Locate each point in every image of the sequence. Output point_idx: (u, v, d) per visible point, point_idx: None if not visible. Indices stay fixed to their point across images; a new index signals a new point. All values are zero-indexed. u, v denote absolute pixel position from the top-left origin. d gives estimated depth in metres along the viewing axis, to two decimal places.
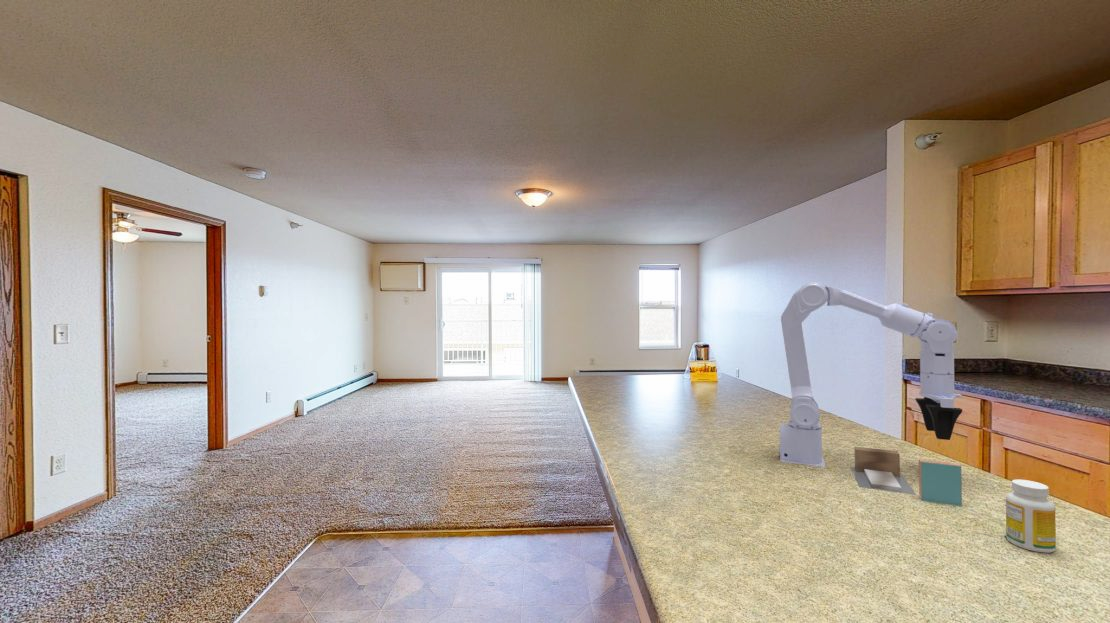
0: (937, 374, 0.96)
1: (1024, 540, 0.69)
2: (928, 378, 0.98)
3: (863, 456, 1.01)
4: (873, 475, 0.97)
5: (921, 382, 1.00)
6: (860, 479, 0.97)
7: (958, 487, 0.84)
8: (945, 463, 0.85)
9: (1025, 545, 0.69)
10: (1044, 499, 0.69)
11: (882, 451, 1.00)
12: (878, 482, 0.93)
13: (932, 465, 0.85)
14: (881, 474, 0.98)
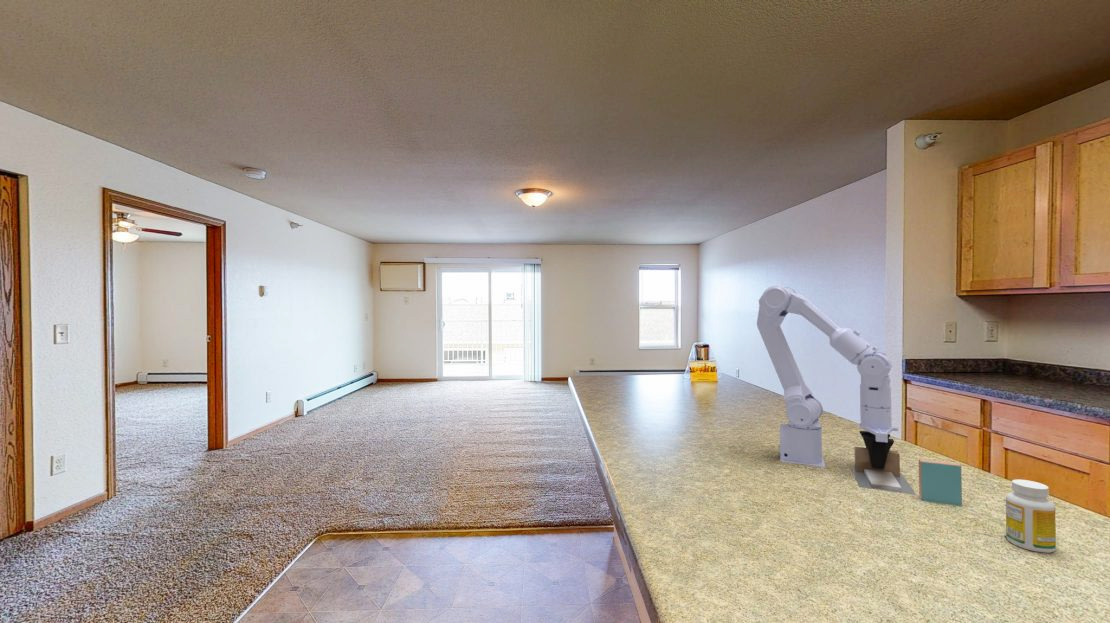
0: (874, 408, 0.99)
1: (1024, 540, 0.69)
2: (866, 411, 1.00)
3: (863, 456, 1.01)
4: (873, 475, 0.97)
5: (861, 414, 1.02)
6: (860, 479, 0.97)
7: (958, 487, 0.84)
8: (945, 463, 0.85)
9: (1025, 545, 0.69)
10: (1044, 499, 0.69)
11: None
12: (878, 482, 0.93)
13: (932, 465, 0.85)
14: (881, 474, 0.98)
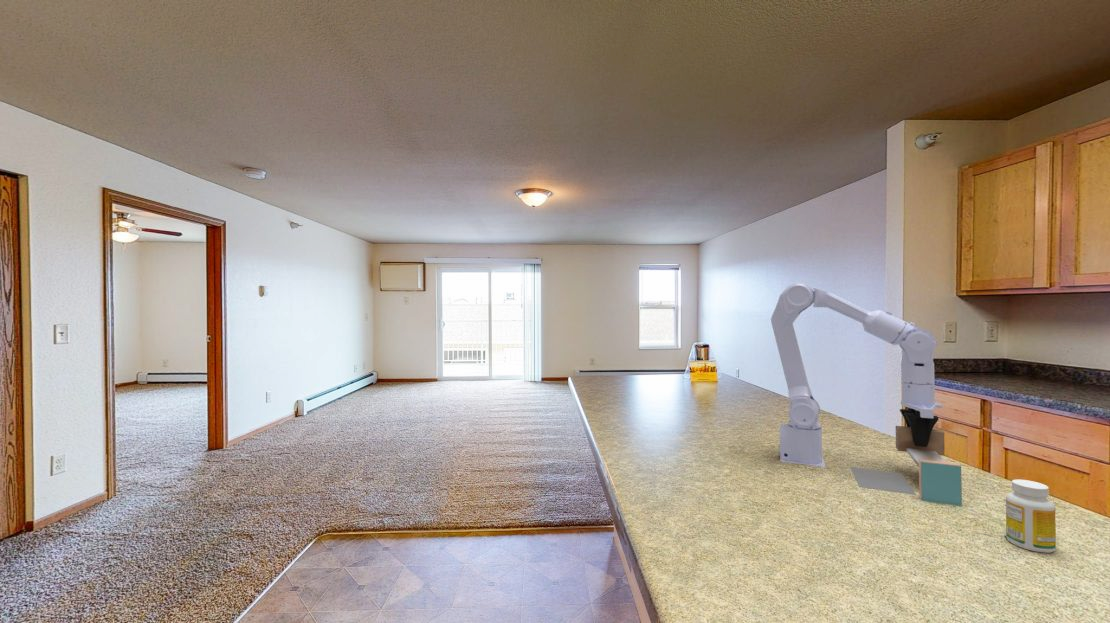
0: (917, 384, 0.97)
1: (1024, 540, 0.69)
2: (909, 388, 0.98)
3: (906, 435, 0.99)
4: (917, 454, 0.95)
5: (902, 392, 1.00)
6: (860, 479, 0.97)
7: (958, 487, 0.84)
8: (945, 463, 0.85)
9: (1025, 545, 0.69)
10: (1044, 499, 0.69)
11: None
12: None
13: (932, 465, 0.85)
14: (925, 453, 0.95)
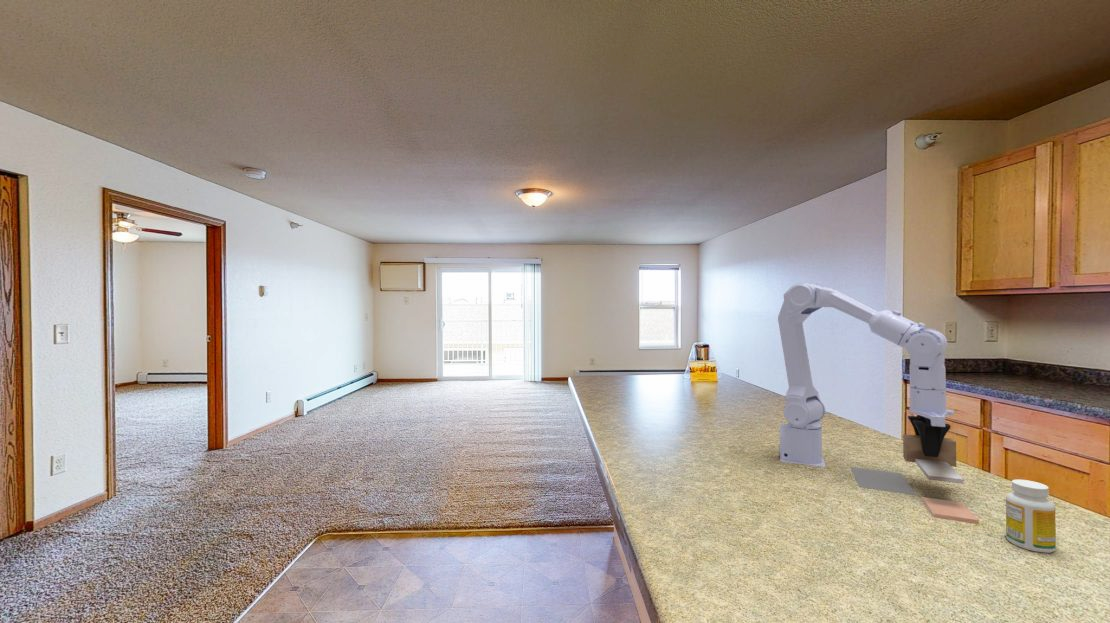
0: (927, 389, 0.90)
1: (1024, 540, 0.69)
2: (918, 394, 0.91)
3: (914, 444, 0.92)
4: (927, 466, 0.88)
5: (911, 398, 0.93)
6: (860, 479, 0.97)
7: None
8: None
9: (1025, 545, 0.69)
10: (1044, 499, 0.69)
11: None
12: (936, 473, 0.84)
13: None
14: (936, 464, 0.89)
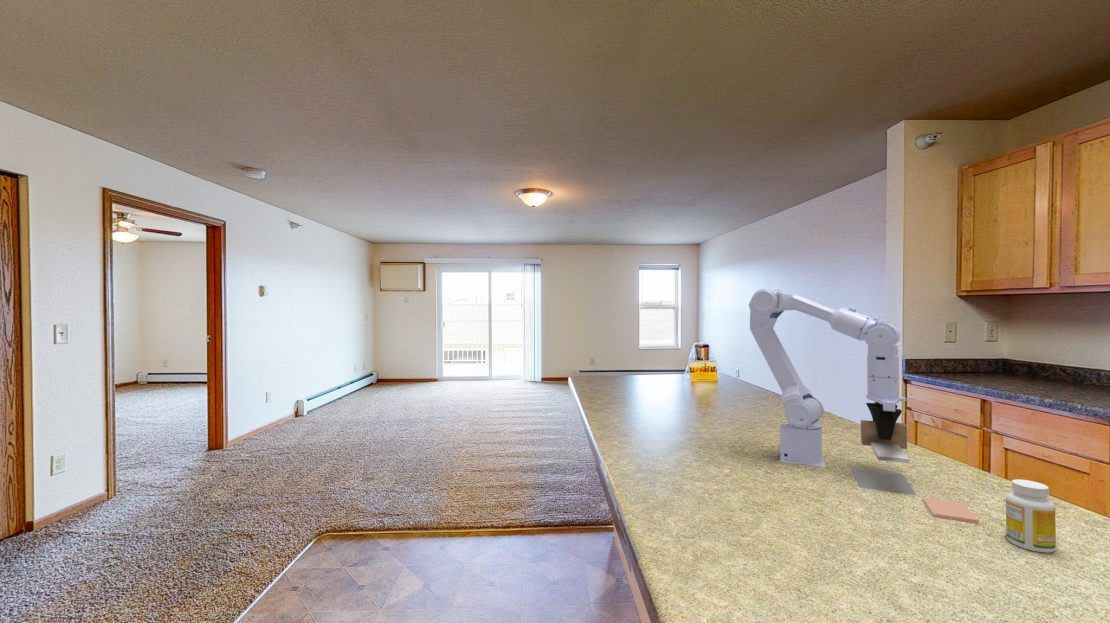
0: (882, 377, 0.98)
1: (1024, 540, 0.69)
2: (873, 381, 0.99)
3: (870, 429, 1.00)
4: (880, 448, 0.96)
5: (868, 385, 1.01)
6: (860, 479, 0.97)
7: None
8: None
9: (1025, 545, 0.69)
10: (1044, 499, 0.69)
11: None
12: (885, 454, 0.92)
13: None
14: (888, 447, 0.96)
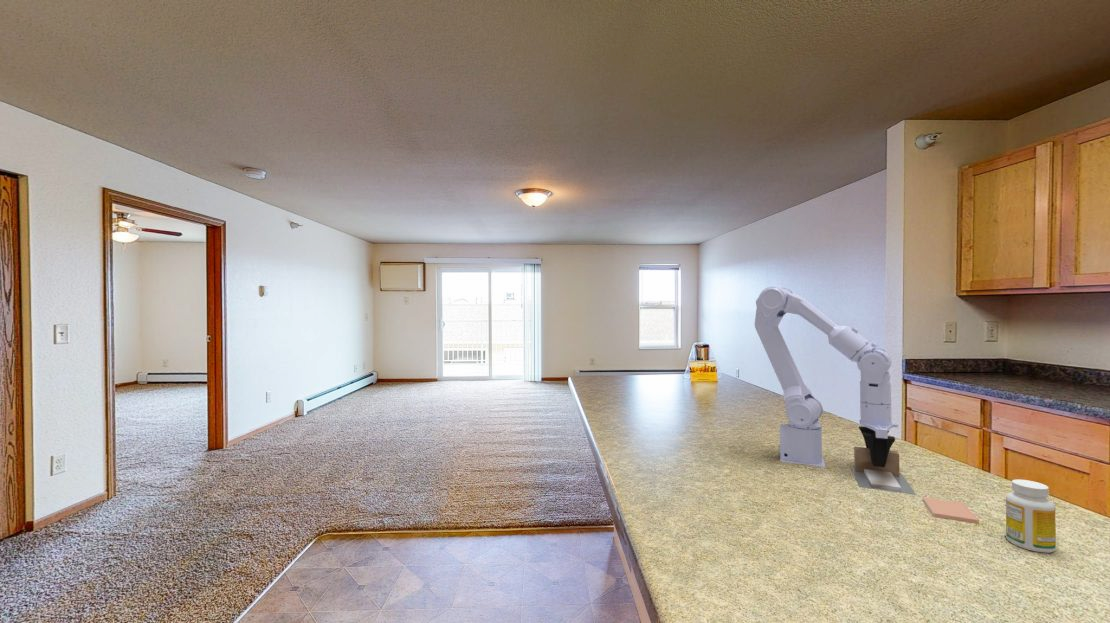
0: (874, 404, 0.99)
1: (1024, 540, 0.69)
2: (866, 408, 1.00)
3: (863, 456, 1.01)
4: (872, 475, 0.97)
5: (861, 411, 1.02)
6: (860, 479, 0.97)
7: None
8: None
9: (1025, 545, 0.69)
10: (1044, 499, 0.69)
11: None
12: (878, 482, 0.93)
13: None
14: (881, 474, 0.98)
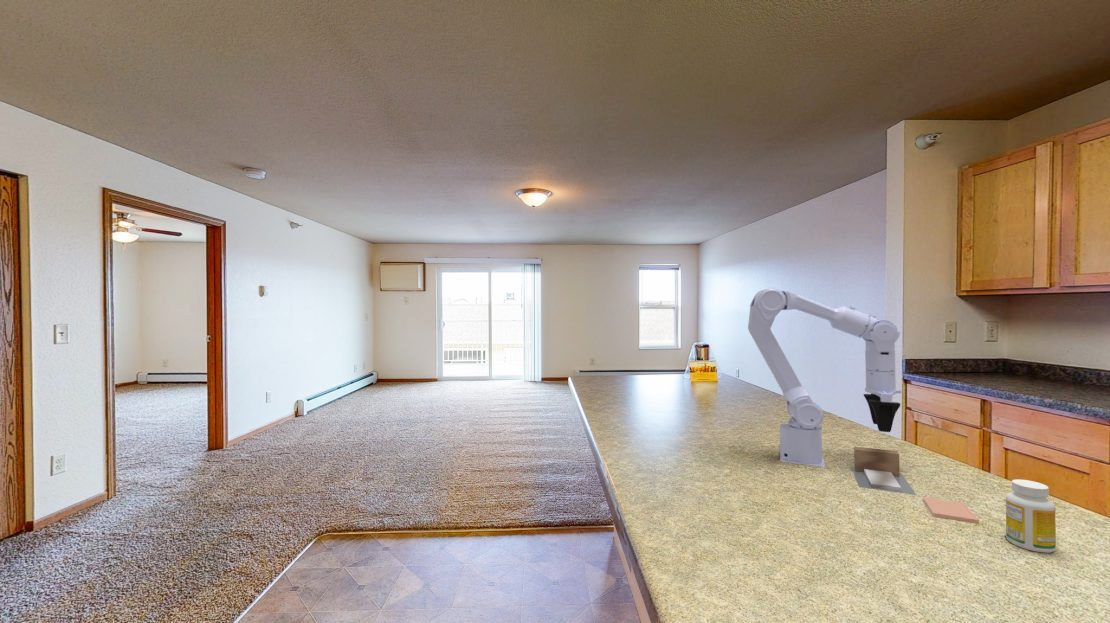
0: (879, 371, 1.04)
1: (1024, 540, 0.69)
2: (871, 375, 1.05)
3: (863, 456, 1.01)
4: (872, 475, 0.97)
5: (866, 379, 1.07)
6: (860, 479, 0.97)
7: None
8: None
9: (1025, 545, 0.69)
10: (1044, 499, 0.69)
11: (882, 451, 1.00)
12: (878, 482, 0.93)
13: None
14: (881, 474, 0.98)
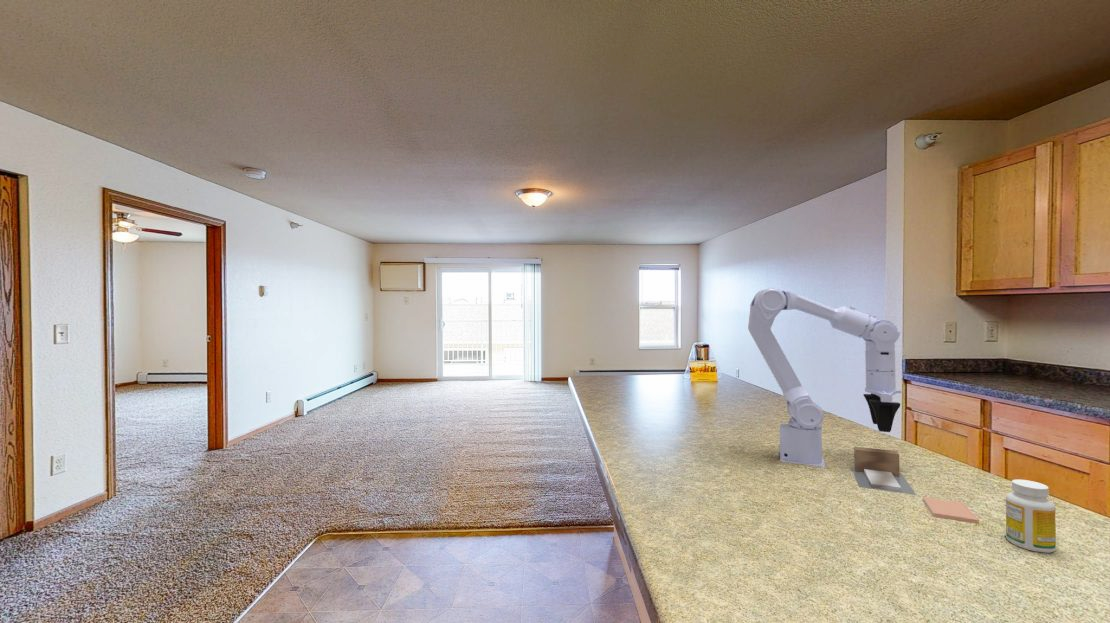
0: (879, 371, 1.04)
1: (1024, 540, 0.69)
2: (871, 375, 1.05)
3: (863, 456, 1.01)
4: (872, 475, 0.97)
5: (866, 379, 1.07)
6: (860, 479, 0.97)
7: None
8: None
9: (1025, 545, 0.69)
10: (1044, 499, 0.69)
11: (882, 451, 1.00)
12: (878, 482, 0.93)
13: None
14: (881, 474, 0.98)
